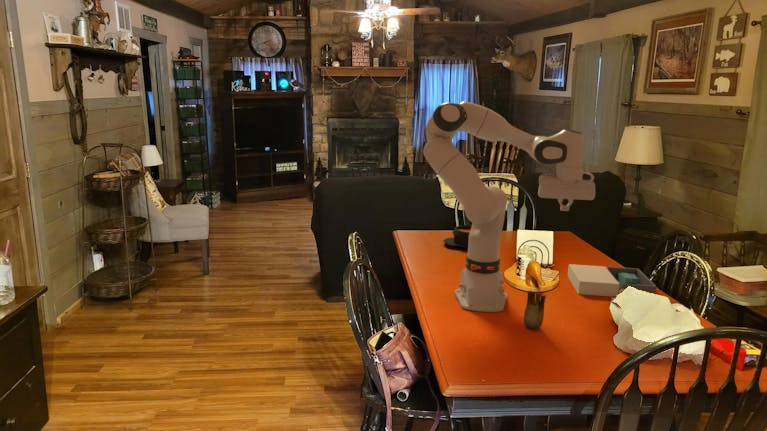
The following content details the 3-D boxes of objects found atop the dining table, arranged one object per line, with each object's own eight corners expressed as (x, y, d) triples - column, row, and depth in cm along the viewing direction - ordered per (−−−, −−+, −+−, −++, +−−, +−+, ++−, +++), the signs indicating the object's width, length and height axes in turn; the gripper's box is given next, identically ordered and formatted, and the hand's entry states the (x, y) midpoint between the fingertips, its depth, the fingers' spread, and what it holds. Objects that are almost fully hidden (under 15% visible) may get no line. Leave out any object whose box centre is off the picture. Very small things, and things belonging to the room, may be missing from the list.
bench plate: (617, 296, 199) (619, 283, 198) (578, 294, 201) (579, 281, 199) (603, 278, 218) (605, 266, 217) (567, 275, 220) (568, 264, 219)
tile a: (623, 293, 200) (630, 293, 200) (625, 277, 199) (632, 278, 199) (618, 287, 206) (625, 288, 206) (620, 272, 205) (627, 273, 204)
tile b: (622, 277, 209) (621, 284, 210) (638, 278, 209) (637, 285, 209) (618, 272, 215) (617, 278, 216) (633, 273, 214) (633, 279, 215)
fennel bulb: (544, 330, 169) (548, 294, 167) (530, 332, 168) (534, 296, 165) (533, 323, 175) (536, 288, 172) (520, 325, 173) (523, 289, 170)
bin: (654, 299, 197) (656, 286, 196) (618, 296, 199) (620, 283, 198) (636, 280, 217) (638, 268, 216) (604, 278, 218) (605, 266, 217)
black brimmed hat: (490, 240, 269) (491, 224, 267) (500, 251, 251) (502, 234, 249) (440, 240, 267) (441, 223, 265) (446, 251, 249) (447, 233, 247)
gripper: (540, 174, 199) (537, 210, 202) (598, 176, 197) (594, 213, 200) (538, 171, 205) (534, 207, 208) (594, 173, 203) (590, 209, 206)
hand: (564, 210), depth 204 cm, fingers closed
